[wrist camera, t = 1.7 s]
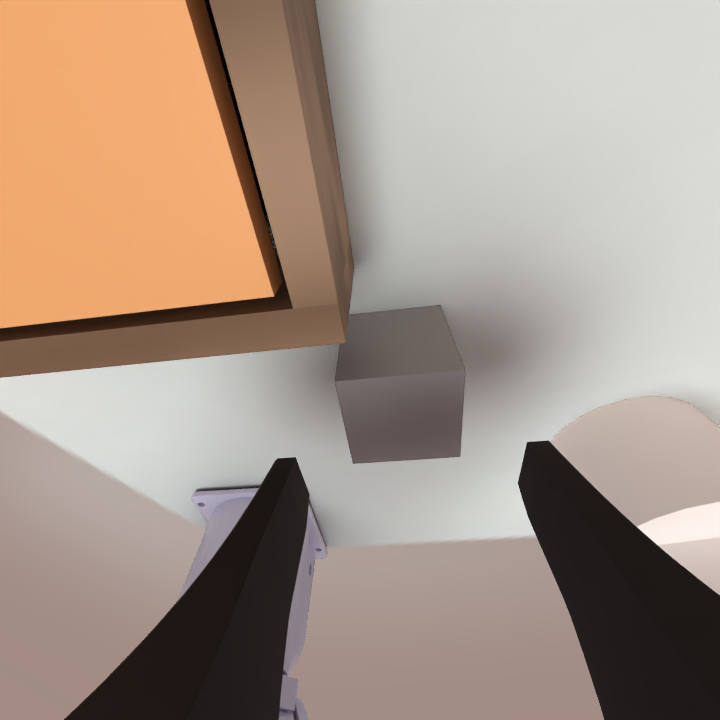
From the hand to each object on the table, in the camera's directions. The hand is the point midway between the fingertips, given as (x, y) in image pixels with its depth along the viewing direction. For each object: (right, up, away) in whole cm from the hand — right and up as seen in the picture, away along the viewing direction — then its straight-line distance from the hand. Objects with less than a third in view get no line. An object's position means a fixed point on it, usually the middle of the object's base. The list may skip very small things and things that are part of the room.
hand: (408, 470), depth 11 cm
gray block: (0, +4, +6) cm, 7 cm away
